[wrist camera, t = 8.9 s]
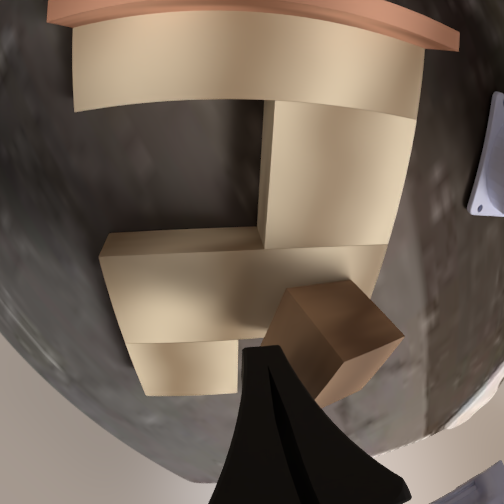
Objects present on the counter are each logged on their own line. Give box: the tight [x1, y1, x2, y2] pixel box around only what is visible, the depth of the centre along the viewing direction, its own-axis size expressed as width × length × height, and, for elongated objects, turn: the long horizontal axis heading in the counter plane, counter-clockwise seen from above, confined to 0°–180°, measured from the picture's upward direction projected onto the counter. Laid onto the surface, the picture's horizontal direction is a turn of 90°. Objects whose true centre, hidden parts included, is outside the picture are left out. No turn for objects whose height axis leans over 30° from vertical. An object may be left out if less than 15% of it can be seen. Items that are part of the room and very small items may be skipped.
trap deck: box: [47, 0, 460, 396], centre depth 13 cm, size 13×21×4 cm, turn 177°
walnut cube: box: [261, 280, 405, 408], centre depth 13 cm, size 4×4×4 cm
